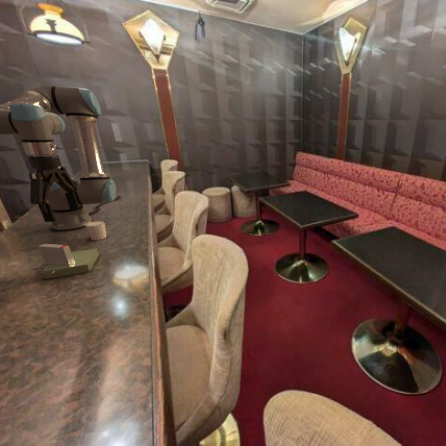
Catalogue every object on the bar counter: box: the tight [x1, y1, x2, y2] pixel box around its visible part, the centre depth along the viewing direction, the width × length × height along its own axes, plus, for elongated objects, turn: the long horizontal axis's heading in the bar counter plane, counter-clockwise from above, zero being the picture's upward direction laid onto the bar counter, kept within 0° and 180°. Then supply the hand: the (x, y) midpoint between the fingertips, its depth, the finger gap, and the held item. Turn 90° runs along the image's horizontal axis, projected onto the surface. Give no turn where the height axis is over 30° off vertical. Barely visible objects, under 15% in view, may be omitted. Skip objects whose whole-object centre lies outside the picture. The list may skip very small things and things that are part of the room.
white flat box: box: [38, 243, 75, 266], centre depth 85 cm, size 9×2×7 cm, turn 85°
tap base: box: [34, 248, 99, 280], centre depth 88 cm, size 16×15×3 cm
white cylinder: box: [85, 220, 107, 241], centre depth 112 cm, size 7×7×7 cm
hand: (63, 214), depth 90 cm, fingers open, 13 cm apart
